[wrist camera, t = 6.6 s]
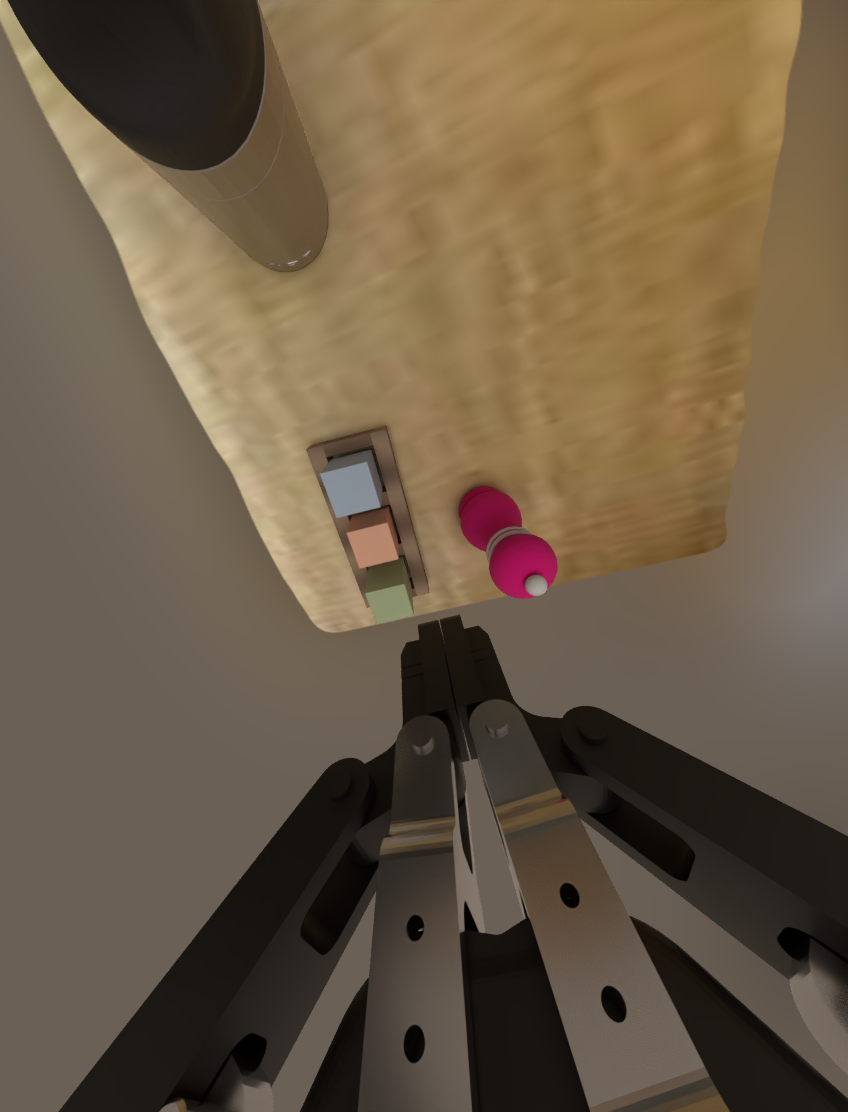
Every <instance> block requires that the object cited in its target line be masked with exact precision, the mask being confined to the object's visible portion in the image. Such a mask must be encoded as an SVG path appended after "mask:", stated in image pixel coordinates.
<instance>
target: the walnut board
mask: <svg viewBox="0 0 848 1112" xmlns="http://www.w3.org/2000/svg"><path fill="white" fill-rule="evenodd" d="M372 445H373V446H374V450H375V453H376V456H377V460H378V463H379V467H380V470H381V474H382V477H383V481H384V484H385V485H384V486H382V488H383V489H382V499H381V506H385V505H389V504H390V505H391V508H392V512H393V515H394V518H395V522H396V525H397V529H398V532H399V535H398V556H400V555H404V554H405V556H406V560H407V563H408V567H409V570H410V573H411V577H412V578H409V579H410V583H411V589H412V597H414V596H418V595H423V594H427V593H430V592H429V587H428V581H427V577H426V574H425V570H424V566H423V562H422V559H421V555H420V551H419V547H418V544H417V540H416V536H415V532H414V529H413V525H412V521H411V517H410V514H409V510H408V506H407V502H406V499H405V495H404V491H403V487H402V484H401V480H400V476H399V472H398V469H397V465H396V461H395V457H394V453H393V450H392V446H391V442H390V438H389V435H388V431H387V427H386V426H384V427H380V428H376V429H373V430H369V431H365V432H361V433H357V434H353V435H349V436H345V437H341V438H338V439H334V440H330V441H326V442H322V443H318V444H314V445H311V446H310V447H309V448H308V449H306V450H307V453H308V456H309V458H310V461H311V463H312V466H313V469H314V471H315V474H316V476H317V479H318V482H319V484H320V487H321V489H322V492H323V495H324V497H325V500H326V503H327V505H328V508H329V510H330V513H331V516H332V518H333V521H334V523H335V526H336V529H337V531H338V534H339V536H340V539H341V542H342V544H343V547H344V549H345V552H346V555H347V557H348V560H349V562H350V565H351V568H352V570H353V573H354V576H355V578H356V581H357V583H358V586H359V589H360V591H361V594H362V596H363V599H364V602H365V604H366V607H367V608H369V607H370V605H369V603H368V600H367V597H366V595H365V590H366V582H367V575H368V567H369V566H368V567H364V568H359V565H358V563H357V560H356V557H355V555H354V552H353V549H352V547H351V544H350V541H349V538H348V536H347V530H348V526H349V523H350V520H351V516H352V514H351V515H347V516H343V517H339V518H336V515H335V513H334V510H333V507H332V505H331V502H330V499H329V497H328V494H327V491H326V489H325V486H324V483H323V481H322V478H321V475H320V473H321V472H322V471H323V469H324V468H325V467H326V466H327V464H328V463H329V462H330V461H331V459H333V458H332V456H333V455H337V454H341V453H345V452H349V451H353V450H357V449H361V448H365V447H368V446H372Z"/></svg>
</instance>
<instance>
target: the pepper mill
mask: <svg viewBox="0 0 848 1112" xmlns="http://www.w3.org/2000/svg"><path fill="white" fill-rule="evenodd" d="M459 516H460V519H461V529H462V532H463V534H464V536H465V537H466V539H467V540H468V541H469V542H470V543H471V544H472V545H473V546H475V547H476V548H478V549H480V550H483V551H486V555H487V559H488V561H489V570H490V575H491V578H492V580H493V582H494V583H495V585H496V586H497V587H498V588H499V589H500V590H501V591H502V592H503V593H505V594H507V595H508V596H511V597H514V598H519V599H525V598H532V597H535V596H539V595H542V594H544V592H545V591H546V590H547V589H548V588H549V587H550V585H551V584H552V583H553V581H554V579H555V577H556V574H557V567H558V566H557V559H556V556H555V553H554V551H553V550H552V548H551V547H550V545H549V544H548V543H547V542H546V541H544V540H543V539H542V538H540V537H537V536H535V535H532V534H531V533H530V532H529V531H528V530H526V529H524V528H522V519H521V514H520V510H519V508H518V506H517V505H516V503H515V502H514V501H513V499H512V498H510V497H509V496H508V495H506V494H504V493H501V492H499V491H497V490H496V489H494V488H491V487H478V488H475V489H473V490H471V491H470V492H469V493H467V494H466V495H465V497H464V498H463V499H462V501H461V504H460V507H459Z"/></svg>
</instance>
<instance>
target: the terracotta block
mask: <svg viewBox="0 0 848 1112" xmlns="http://www.w3.org/2000/svg"><path fill="white" fill-rule="evenodd" d="M347 536H348V538H349V541H350V544H351V547H352V549H353V552H354V555H355V557H356V560H357V563H358V565H359V568H364V567H368V566H373V565H377V564H381V563H385V562H389V561H393V560H397V559H399V557H398V534H397V531H396V527H395V524H394V520H393V517H392V514H391V510H390V507H389V505H385V506H381V507H379V508H375V509H371V510H367V511H363V512H359V513H355V514H352V516H351V520H350V523H349V526H348V530H347Z"/></svg>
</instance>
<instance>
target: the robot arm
mask: <svg viewBox="0 0 848 1112" xmlns="http://www.w3.org/2000/svg"><path fill="white" fill-rule="evenodd" d="M8 2H9V4H10V6H11V8H12V10H13V12H14V13H15V15H16V17H17V19H18V21H19V22H20V24H21V26H22V27H23V29H24V31H25V33H26V34H27V36H28V37H29V39H30V40H31V42H32V43H33V45H34V46H35V48H36V49H37V51H38V52H39V54H40V55H41V57H42V58H43V59H44V61H45V62H46V64H47V65H48V66H49V68H50V69H51V70H52V72H53V73H54V74H55V76H56V77H57V78H58V79H59V81H60V82H61V83H62V84H63V85H64V86H65V87H66V89H67V90H68V91H69V92H70V93H71V94H72V95H73V96H74V97H75V98H76V99H77V100H78V101H79V102H80V103H81V104H82V105H83V106H84V107H85V108H86V109H87V110H88V111H89V112H90V113H91V114H92V115H93V116H94V117H95V118H96V119H97V120H98V121H99V122H101V123H102V124H103V125H104V126H105V127H106V128H107V129H108V130H110V131H111V132H112V133H113V134H114V135H115V136H116V137H117V138H118V139H119V140H121V141H122V142H123V143H124V144H125V145H126V146H127V147H128V148H130V149H131V150H132V151H133V152H134V153H135V154H136V155H137V156H138V157H140V158H141V159H142V160H143V161H144V162H145V163H146V164H147V165H149V166H150V167H151V168H152V169H153V170H154V171H155V172H157V173H158V174H159V175H160V176H161V177H162V178H163V179H165V180H166V181H167V182H168V183H169V184H170V185H171V186H172V187H173V188H175V189H176V190H177V191H178V192H179V193H180V194H181V195H182V196H184V197H185V198H186V199H187V200H188V201H189V202H190V203H191V204H192V205H194V206H195V207H196V208H197V209H198V210H199V211H200V212H201V213H202V214H204V215H205V216H206V217H207V218H208V219H209V220H210V221H211V222H213V223H214V224H215V225H216V226H217V227H218V228H219V229H220V230H221V231H223V232H224V233H225V234H226V235H227V236H228V237H229V238H230V239H231V240H233V241H234V242H235V243H236V244H237V245H238V246H239V247H241V248H242V249H243V250H244V251H245V252H246V253H247V254H248V255H249V256H251V257H252V258H253V259H254V260H255V261H257V262H258V263H260V264H262V265H263V266H265V267H267V268H270V269H273V270H275V271H283V272H289V271H296V270H299V269H301V268H303V267H305V266H307V265H308V264H309V263H310V262H312V261H313V260H314V258H315V257H316V256H317V254H318V253H319V252H320V250H321V248H322V245H323V243H324V241H325V237H326V232H327V228H328V207H327V199H326V195H325V191H324V188H323V184H322V181H321V178H320V176H319V173H318V170H317V167H316V164H315V161H314V158H313V155H312V152H311V149H310V146H309V144H308V141H307V138H306V135H305V132H304V130H303V127H302V124H301V121H300V118H299V115H298V113H297V110H296V107H295V104H294V101H293V98H292V96H291V93H290V90H289V87H288V84H287V81H286V79H285V76H284V73H283V70H282V67H281V64H280V62H279V59H278V56H277V53H276V50H275V47H274V45H273V42H272V39H271V36H270V33H269V30H268V28H267V25H266V23H265V20H264V17H263V14H262V11H261V9H260V6H259V3H258V0H8ZM440 623H441V628H442V632H441V628H440V625H439V621H438V620H435V621H431V622H427V623H422V624H419V625H418V631H419V640H416V641H412V642H408V643H406V645H405V647H404V649H403V652H402V654H401V669H402V670H401V675H402V705H403V726H402V729H401V731H400V732H399V734H398V737H397V740H396V742H395V743H394V744H393V745H392V746H391V747H390V748H389V749H388V750H387V751H386V752H384V753H383V754H381V755H379V756H378V757H376V758H374V759H373V760H371V761H369V762H367V763H366V764H364V763H363V762H362V761H360V760H358V759H355V758H346V759H342V760H339V761H337V762H335V763H334V764H332V765H331V766H330V767H328V769H326V770H325V772H324V773H323V774H322V775H321V776H320V778H319V779H318V780H317V782H316V783H315V784H314V785H313V787H312V788H311V789H310V790H309V792H308V793H307V794H306V796H305V797H304V798H303V800H302V801H301V802H300V803H299V805H298V806H297V807H296V808H295V810H294V811H293V812H292V814H291V815H290V816H289V817H288V819H287V820H286V821H285V822H284V824H283V825H282V827H281V828H280V829H279V830H278V831H277V833H276V834H275V835H274V837H273V838H272V839H271V840H270V842H269V843H268V844H267V846H266V847H265V848H264V849H263V851H262V852H261V853H260V854H259V856H258V857H257V858H256V860H255V861H254V862H253V864H252V865H251V866H250V867H249V869H248V870H247V871H246V873H245V874H244V875H243V876H242V878H241V879H240V880H239V881H238V883H237V884H236V885H235V886H234V888H233V889H232V890H231V892H230V893H229V894H228V895H227V897H226V898H225V899H224V901H223V902H222V903H221V904H220V906H219V907H218V908H217V910H216V911H215V912H214V913H213V915H212V916H211V917H210V919H209V920H208V921H207V923H206V924H205V925H204V926H203V928H202V929H201V930H200V931H199V933H198V934H197V935H196V936H195V938H194V939H193V940H192V942H191V943H190V944H189V945H188V947H187V948H186V949H185V951H184V952H183V953H182V954H181V956H180V957H179V958H178V960H177V961H176V962H175V963H174V965H173V966H172V967H171V968H170V970H169V971H168V972H167V974H166V975H165V976H164V977H163V979H162V980H161V981H160V982H159V984H158V985H157V986H156V988H155V989H154V990H153V991H152V993H151V994H150V995H149V997H148V998H147V999H146V1000H145V1002H144V1003H143V1004H142V1006H141V1007H140V1008H139V1010H138V1011H137V1012H136V1013H135V1015H134V1016H133V1017H132V1018H131V1020H130V1021H129V1022H128V1023H127V1025H126V1026H125V1027H124V1029H123V1030H122V1031H121V1032H120V1034H119V1035H118V1036H117V1038H116V1039H115V1040H114V1041H113V1043H112V1044H111V1045H110V1047H109V1048H108V1049H107V1050H106V1052H105V1053H104V1054H103V1055H102V1057H101V1058H100V1059H99V1061H98V1062H97V1063H96V1064H95V1066H94V1067H93V1068H92V1070H91V1071H90V1072H89V1073H88V1075H87V1076H86V1077H85V1079H84V1080H83V1081H82V1082H81V1084H80V1085H79V1086H78V1087H77V1089H76V1090H75V1091H74V1093H73V1094H72V1095H71V1096H70V1098H69V1099H68V1100H67V1102H66V1103H65V1104H64V1105H63V1107H62V1108H61V1109H60V1111H59V1112H273V1097H272V1091H271V1087H272V1085H273V1083H274V1081H275V1079H276V1077H277V1075H278V1074H279V1072H280V1070H281V1068H282V1066H283V1064H284V1062H285V1060H286V1059H287V1057H288V1055H289V1053H290V1051H291V1049H292V1047H293V1045H294V1043H295V1042H296V1040H297V1038H298V1036H299V1034H300V1032H301V1030H302V1029H303V1026H304V1025H305V1023H306V1021H307V1019H308V1017H309V1015H310V1014H311V1012H312V1010H313V1008H314V1006H315V1004H316V1002H317V1000H318V999H319V997H320V995H321V993H322V991H323V989H324V987H325V985H326V984H327V982H328V980H329V978H330V976H331V974H332V972H333V970H334V969H335V967H336V965H337V963H338V961H339V959H340V957H341V955H342V954H343V952H344V950H345V948H346V946H347V944H348V942H349V940H350V939H351V937H352V935H353V933H354V931H355V929H356V927H357V925H358V923H359V922H360V920H361V918H362V916H363V914H364V912H365V910H366V909H367V907H368V905H369V903H370V901H371V899H372V897H373V896H374V894H375V892H376V902H375V913H374V925H373V937H372V949H371V960H370V972H369V978H368V979H367V980H366V981H365V983H364V985H363V986H362V987H361V988H360V990H359V991H358V993H357V994H356V996H355V997H354V999H353V1001H352V1002H351V1004H350V1006H349V1008H348V1009H347V1011H346V1013H345V1015H344V1017H343V1019H342V1021H341V1023H340V1025H339V1027H338V1030H337V1032H336V1034H335V1036H334V1039H333V1041H332V1043H331V1045H330V1047H329V1049H328V1052H327V1054H326V1056H325V1058H324V1060H323V1062H322V1065H321V1067H320V1069H319V1071H318V1073H317V1076H316V1078H315V1080H314V1082H313V1084H312V1086H311V1089H310V1091H309V1093H308V1095H307V1097H306V1100H305V1102H304V1104H303V1106H302V1108H301V1111H300V1112H848V1098H847V1097H845V1096H844V1095H843V1094H842V1093H841V1092H840V1091H839V1090H838V1089H837V1088H836V1087H834V1086H833V1085H832V1084H831V1083H830V1082H829V1081H828V1080H827V1079H826V1078H824V1077H823V1076H822V1075H821V1074H820V1073H819V1072H818V1071H817V1070H816V1069H814V1068H813V1067H812V1066H811V1065H810V1064H809V1063H808V1062H807V1061H806V1060H805V1059H803V1058H802V1057H801V1056H800V1055H799V1054H798V1053H797V1052H796V1051H795V1050H794V1049H792V1048H791V1047H790V1046H789V1045H788V1044H787V1043H786V1042H785V1041H784V1040H782V1039H781V1038H780V1037H779V1036H778V1035H777V1034H776V1033H775V1032H774V1031H773V1030H771V1029H770V1028H769V1027H768V1026H767V1025H766V1024H765V1023H764V1022H762V1021H761V1020H760V1019H759V1018H758V1017H757V1016H756V1015H755V1014H754V1013H752V1011H750V1010H749V1009H748V1008H747V1007H746V1006H745V1005H744V1004H743V1003H741V1002H740V1001H739V1000H738V999H737V998H736V997H735V996H734V995H733V994H732V993H731V992H729V991H728V990H727V989H726V988H725V987H724V986H723V985H722V984H721V983H719V982H718V981H717V980H716V979H715V978H714V977H713V976H712V975H711V974H709V973H708V972H707V971H706V970H705V969H704V968H703V967H702V966H701V965H700V964H698V963H697V962H696V961H695V960H694V959H693V958H692V957H691V956H690V955H688V954H687V953H686V952H685V951H684V950H683V949H682V948H680V947H679V946H678V945H677V944H676V943H674V942H673V941H671V940H670V939H669V938H667V937H666V936H665V935H664V934H662V933H661V932H659V931H658V930H656V929H654V928H653V927H651V926H649V925H648V924H646V923H644V922H642V921H640V920H638V919H636V918H633V917H632V916H629V915H628V913H627V911H626V909H625V907H624V905H623V903H622V901H621V899H620V897H619V895H618V893H617V891H616V889H615V887H614V885H613V883H612V881H611V879H610V877H609V875H608V873H607V871H606V869H605V867H604V865H603V864H602V862H601V859H600V858H599V855H598V853H597V851H596V849H595V847H594V845H593V843H592V842H591V839H590V837H589V835H588V834H587V832H586V829H585V827H584V826H583V824H582V822H581V820H580V819H582V820H583V821H584V822H586V823H587V824H588V825H590V826H591V827H592V828H594V829H595V830H596V831H598V832H599V833H600V834H601V835H602V836H604V837H605V838H606V839H608V840H609V841H610V842H612V843H613V844H614V845H615V846H617V847H618V848H619V849H621V850H622V851H623V852H624V853H626V854H627V855H628V856H630V857H631V858H632V859H634V860H635V861H636V862H637V863H639V864H640V865H641V866H643V867H644V868H645V869H647V870H648V871H649V872H650V873H652V874H653V875H654V876H655V877H657V878H658V879H659V880H661V881H662V882H663V883H665V884H666V885H667V886H668V887H670V888H671V889H672V890H674V891H675V892H676V893H677V894H679V895H680V896H681V897H683V898H684V899H685V900H687V901H688V902H689V903H690V904H692V905H693V906H694V907H696V908H697V909H698V910H700V911H701V912H702V913H703V914H705V915H706V916H707V917H709V918H710V919H711V920H712V921H714V922H715V923H716V924H718V925H719V926H720V927H721V928H723V929H724V930H725V931H727V932H728V933H729V934H731V935H732V936H733V937H734V938H736V939H737V940H738V941H740V942H741V943H742V944H744V945H745V946H746V947H747V948H749V949H750V950H751V951H753V952H754V953H755V954H756V955H758V956H759V957H760V958H762V959H763V960H764V961H765V962H767V963H768V964H769V965H771V966H772V967H773V968H775V969H776V970H777V971H778V972H780V973H781V974H782V975H784V976H785V977H787V979H789V980H790V986H791V991H792V994H793V998H794V1001H795V1003H796V1006H797V1008H798V1010H799V1013H800V1015H801V1016H802V1018H803V1020H804V1022H805V1024H806V1026H807V1027H808V1029H809V1030H810V1032H811V1033H812V1035H813V1036H814V1038H815V1039H816V1040H817V1042H818V1043H819V1044H820V1046H821V1047H822V1048H823V1050H824V1051H825V1052H826V1053H827V1054H828V1055H829V1057H830V1058H831V1059H832V1060H833V1061H834V1062H835V1063H836V1064H837V1065H838V1066H839V1067H840V1068H841V1069H842V1070H843V1071H844V1072H845V1073H846V1074H847V1075H848V836H846V835H844V834H842V833H840V832H838V831H836V830H835V829H833V828H831V827H828V826H827V825H825V824H823V823H821V822H819V821H817V820H815V819H813V818H811V817H809V816H807V815H805V814H804V813H802V812H800V811H798V810H796V809H794V808H792V807H790V806H788V805H786V804H784V803H782V802H780V801H778V800H777V799H774V798H773V797H770V796H769V795H767V794H765V793H763V792H761V791H759V790H757V789H755V788H753V787H751V786H749V785H747V784H746V783H744V782H741V781H740V780H738V779H736V778H734V777H732V776H730V775H728V774H726V773H724V772H722V771H720V770H718V769H716V768H715V767H712V766H711V765H709V764H707V763H704V762H703V761H701V760H699V759H697V758H695V757H693V756H691V755H689V754H687V753H686V752H684V751H682V750H680V749H678V748H676V747H674V746H672V745H670V744H668V743H666V742H664V741H662V740H660V739H658V738H656V737H655V736H653V735H651V734H649V733H647V732H645V731H643V730H641V729H639V728H637V727H635V726H633V725H631V724H629V723H627V722H626V721H624V720H622V719H620V718H618V717H616V716H614V715H612V714H610V713H608V712H606V711H604V710H602V709H599V708H596V707H591V706H580V707H576V708H573V709H571V710H569V711H568V712H567V713H566V714H565V715H564V716H563V718H551V717H541V716H536V715H533V714H531V713H528V712H527V711H525V710H523V709H522V708H521V707H519V706H518V704H517V703H516V702H515V701H514V699H513V697H512V695H511V692H510V690H509V687H508V685H507V682H506V679H505V677H504V674H503V672H502V669H501V666H500V664H499V661H498V659H497V656H496V653H495V651H494V649H493V645H492V643H491V640H490V638H489V635H488V634H487V633H486V632H485V631H484V630H483V629H482V628H480V627H479V626H475V627H471V628H466V629H464V627H463V624H462V620H461V617H460V615H456V616H452V617H447V618H443V619H440ZM442 633H443V636H442ZM443 638H444V640H443ZM463 729H464V731H463ZM464 733H465V736H464ZM465 737H466V740H467V744H468V748H469V751H470V755H471V759H472V760H473V759H477V758H478V762H479V766H480V770H481V774H482V778H483V781H484V785H485V789H486V792H487V796H488V799H489V803H490V806H491V809H492V813H493V815H494V819H495V822H496V826H497V829H498V832H499V835H500V839H501V842H502V846H503V849H504V852H505V855H506V859H507V862H508V865H509V869H510V872H511V875H512V879H513V882H514V886H515V890H516V893H517V896H518V900H519V903H520V907H521V910H522V913H523V917H524V920H523V921H521V922H520V923H518V924H516V925H515V926H513V927H512V928H510V929H509V930H507V931H506V932H504V933H502V934H499V935H492V934H487V933H485V929H484V921H483V914H482V908H481V901H480V896H479V891H478V886H477V879H476V872H475V863H474V854H473V845H472V837H471V828H470V819H469V811H468V810H469V809H468V801H467V792H466V781H465V776H464V770H463V765H462V762H465V761H469V756H468V751H467V747H466V741H465Z"/></svg>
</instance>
